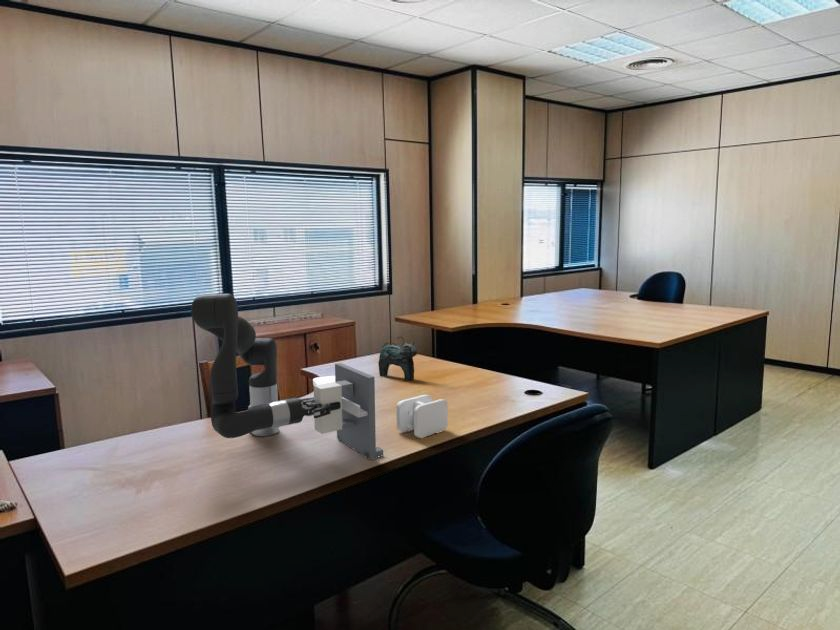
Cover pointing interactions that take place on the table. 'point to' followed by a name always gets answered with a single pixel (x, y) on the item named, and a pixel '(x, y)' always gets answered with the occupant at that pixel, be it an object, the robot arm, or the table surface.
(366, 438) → the wall board
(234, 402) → the robot arm
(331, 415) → the white block
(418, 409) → the cable organizer
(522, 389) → the table surface
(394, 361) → the ceramic cat
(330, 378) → the mac mini
